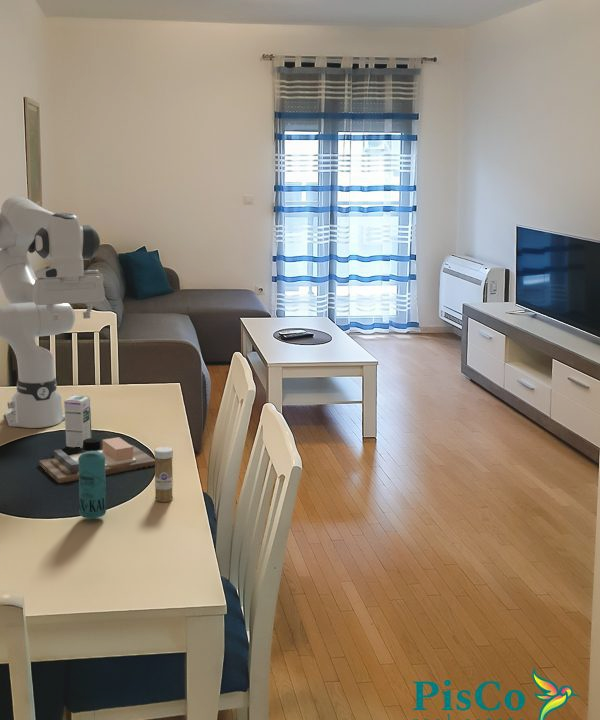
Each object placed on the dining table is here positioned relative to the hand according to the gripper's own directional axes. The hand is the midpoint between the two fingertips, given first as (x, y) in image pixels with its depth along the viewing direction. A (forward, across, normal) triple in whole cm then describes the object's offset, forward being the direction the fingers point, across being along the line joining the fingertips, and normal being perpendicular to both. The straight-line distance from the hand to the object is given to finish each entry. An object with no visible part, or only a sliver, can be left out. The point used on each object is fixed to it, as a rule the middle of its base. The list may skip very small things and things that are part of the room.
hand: (70, 319), depth 258 cm
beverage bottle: (+45, +14, +48) cm, 67 cm away
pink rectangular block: (+39, -6, +13) cm, 41 cm away
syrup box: (+38, -2, -7) cm, 39 cm away
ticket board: (+40, -1, +13) cm, 42 cm away
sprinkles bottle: (+44, -6, +45) cm, 63 cm away
